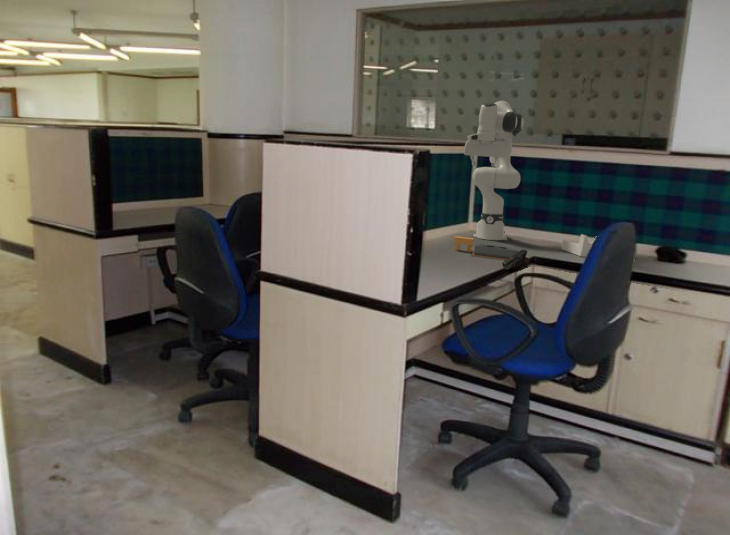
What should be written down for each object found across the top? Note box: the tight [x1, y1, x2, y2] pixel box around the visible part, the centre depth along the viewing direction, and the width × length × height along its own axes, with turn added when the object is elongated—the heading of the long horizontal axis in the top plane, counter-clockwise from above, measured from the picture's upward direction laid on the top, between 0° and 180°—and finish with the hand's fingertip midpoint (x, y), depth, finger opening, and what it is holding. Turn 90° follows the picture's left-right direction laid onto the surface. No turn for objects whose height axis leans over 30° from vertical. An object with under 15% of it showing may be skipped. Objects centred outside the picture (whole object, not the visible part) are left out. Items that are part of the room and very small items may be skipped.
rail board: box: [470, 243, 520, 261], centre depth 292 cm, size 12×22×5 cm, turn 69°
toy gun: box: [501, 248, 530, 271], centre depth 270 cm, size 2×16×10 cm, turn 130°
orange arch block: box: [453, 235, 475, 253], centre depth 302 cm, size 3×9×6 cm, turn 69°
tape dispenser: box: [560, 233, 597, 258], centre depth 313 cm, size 18×10×10 cm, turn 13°
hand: (483, 165), depth 303 cm, fingers open, 8 cm apart
